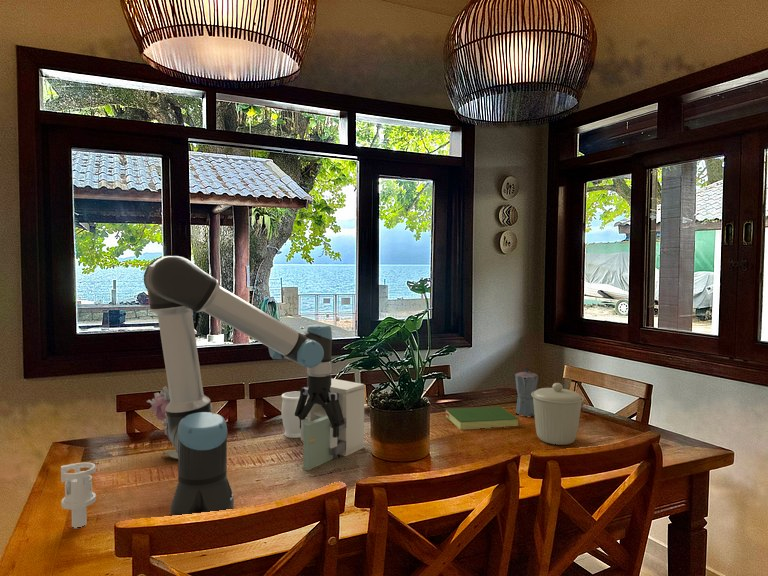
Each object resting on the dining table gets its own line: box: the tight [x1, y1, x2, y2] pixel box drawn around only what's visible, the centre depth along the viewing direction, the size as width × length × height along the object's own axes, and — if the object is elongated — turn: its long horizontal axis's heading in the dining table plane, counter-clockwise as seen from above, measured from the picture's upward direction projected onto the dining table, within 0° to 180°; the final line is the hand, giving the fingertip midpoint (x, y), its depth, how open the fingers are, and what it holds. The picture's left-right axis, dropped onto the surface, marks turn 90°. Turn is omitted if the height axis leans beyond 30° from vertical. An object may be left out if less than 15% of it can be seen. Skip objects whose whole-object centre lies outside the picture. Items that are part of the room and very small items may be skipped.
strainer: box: [60, 461, 97, 529], centre depth 123 cm, size 7×7×15 cm
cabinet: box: [306, 377, 366, 457], centre depth 176 cm, size 16×17×22 cm
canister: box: [531, 382, 585, 446], centre depth 188 cm, size 18×18×21 cm
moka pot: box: [514, 367, 539, 417], centre depth 220 cm, size 10×15×20 cm, turn 163°
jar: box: [281, 390, 307, 439], centre depth 190 cm, size 11×10×15 cm
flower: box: [146, 385, 213, 460], centre depth 171 cm, size 20×22×25 cm
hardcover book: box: [444, 405, 519, 431], centre depth 210 cm, size 25×19×4 cm
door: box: [302, 416, 339, 471], centre depth 164 cm, size 15×4×14 cm, turn 146°
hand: (318, 443), depth 163 cm, fingers open, 11 cm apart
